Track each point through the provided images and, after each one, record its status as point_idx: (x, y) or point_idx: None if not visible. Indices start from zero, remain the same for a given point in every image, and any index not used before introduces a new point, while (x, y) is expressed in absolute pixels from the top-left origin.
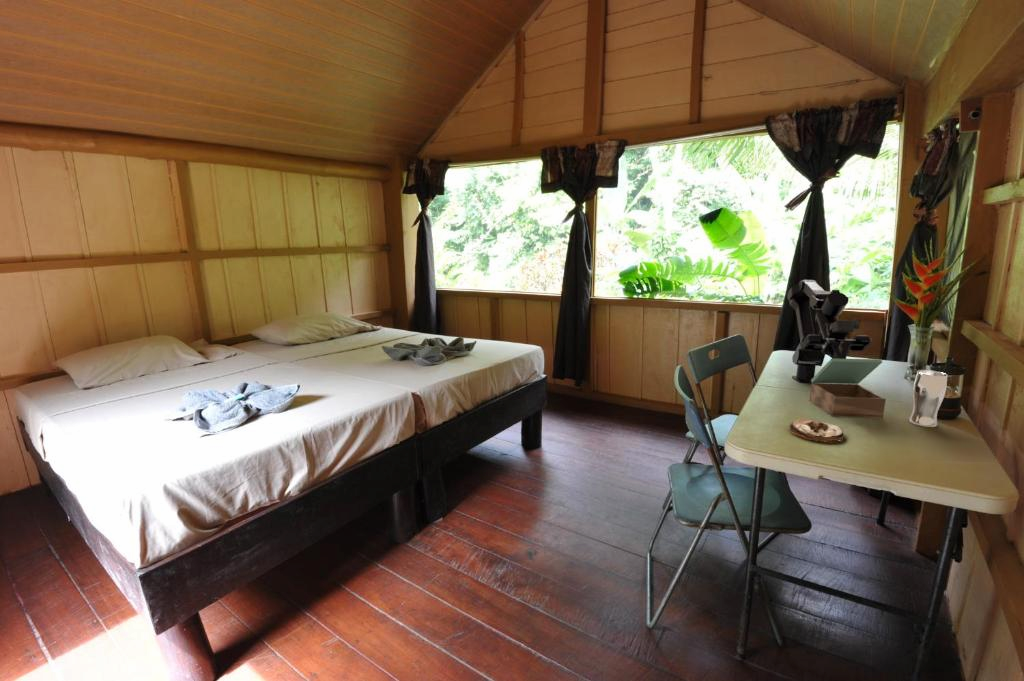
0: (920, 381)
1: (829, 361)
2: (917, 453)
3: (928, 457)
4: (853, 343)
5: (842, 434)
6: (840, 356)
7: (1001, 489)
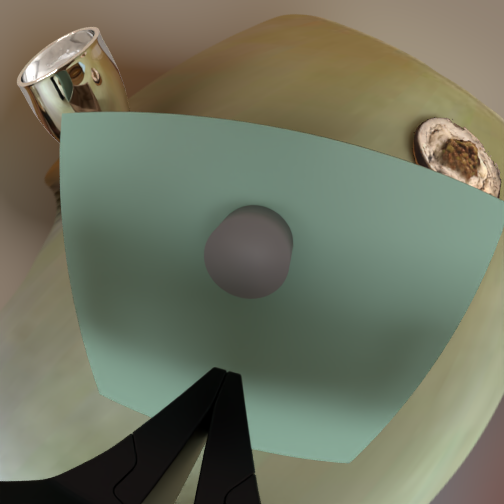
0: (107, 62)
1: (491, 246)
2: (308, 67)
3: (301, 58)
4: None
5: (423, 122)
6: (224, 444)
7: (286, 16)
